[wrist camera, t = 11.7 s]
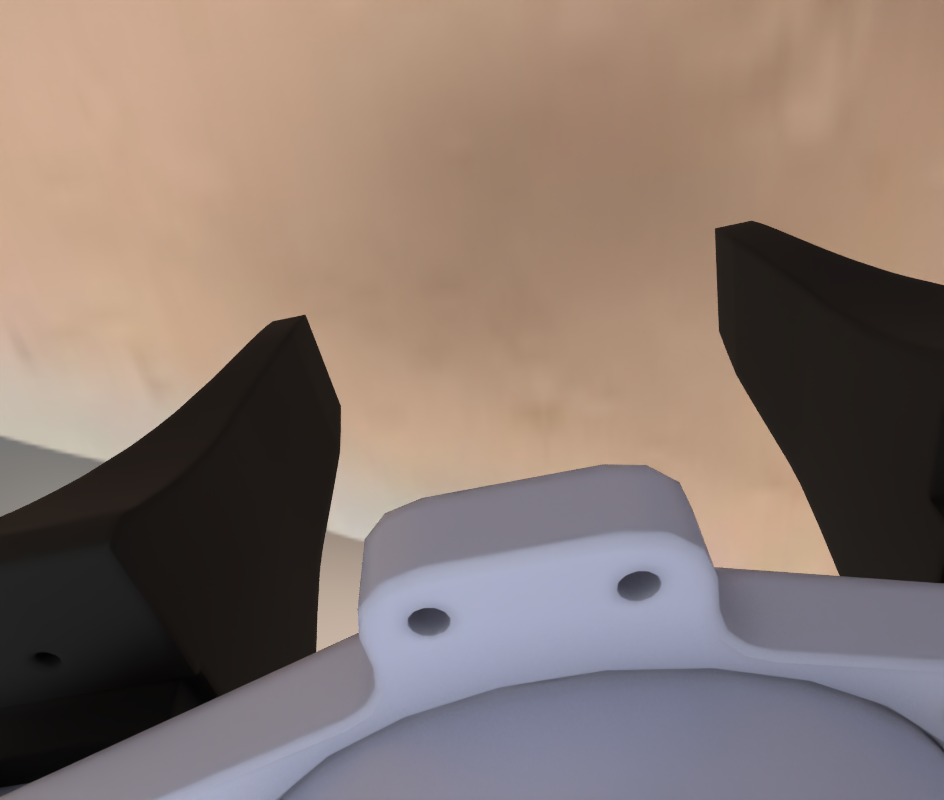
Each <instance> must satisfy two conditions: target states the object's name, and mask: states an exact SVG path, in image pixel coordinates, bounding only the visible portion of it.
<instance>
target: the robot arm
mask: <svg viewBox="0 0 944 800" xmlns="http://www.w3.org/2000/svg"><path fill="white" fill-rule="evenodd" d="M715 240H716V265H717V291H718V316H719V332H720V335H721V337H722V340H723V343H724V345H725V348H726V350H727V353H728V356H729V358H730V360H731V363H732V365H733V368H734V370H735V372H736V375H737V377H738V378H739V380H740V382H741V384H742V385H743V387H744V389H745V390H746V392H747V394H748V395H749V397H750V399H751V401H752V402H753V404H754V406H755V407H756V409H757V411H758V412H759V414H760V416H761V417H762V419H763V420H764V422H765V424H766V425H767V427H768V429H769V430H770V432H771V434H772V435H773V437H774V439H775V440H776V442H777V444H778V445H779V447H780V449H781V450H782V452H783V454H784V455H785V457H786V459H787V460H788V462H789V464H790V465H791V467H792V469H793V471H794V473H795V475H796V477H797V478H798V480H799V482H800V484H801V486H802V489H803V491H804V493H805V495H806V498H807V500H808V502H809V504H810V507H811V509H812V511H813V513H814V516H815V518H816V520H817V523H818V525H819V527H820V529H821V532H822V534H823V537H824V539H825V541H826V544H827V546H828V549H829V551H830V553H831V556H832V558H833V561H834V563H835V566H836V568H837V570H838V573H839V575H840V576H830V575H816V574H802V573H788V572H774V571H760V570H746V569H732V568H717V567H714V566H713V563H712V560H711V558H710V555H709V552H708V550H707V547H706V544H705V542H704V539H703V536H702V534H701V531H700V528H699V526H698V523H697V520H696V518H695V515H694V512H693V510H692V508H691V505H690V503H689V501H688V499H687V497H686V495H685V493H684V491H683V489H682V487H681V485H680V483H679V482H678V481H676V480H674V479H672V478H670V477H668V476H666V475H664V474H662V473H660V472H658V471H657V470H655V469H653V468H651V467H649V466H647V465H598V466H593V467H587V468H582V469H576V470H571V471H566V472H560V473H555V474H549V475H544V476H539V477H533V478H528V479H522V480H517V481H512V482H506V483H501V484H495V485H490V486H485V487H479V488H474V489H468V490H463V491H458V492H452V493H447V494H441V495H436V496H431V497H425V498H421V499H419V500H416V501H414V502H411V503H409V504H407V505H404V506H402V507H399V508H397V509H394V510H392V511H390V512H387V513H385V514H384V515H383V517H382V518H381V519H380V521H379V522H378V523H377V524H376V526H375V527H374V528H373V529H372V531H371V532H370V533H369V535H368V536H367V537H366V538H365V542H364V552H363V562H362V572H361V582H360V592H359V602H358V625H359V633H357V634H355V635H353V636H351V637H348V638H346V639H344V640H342V641H340V642H338V643H335V644H333V645H331V646H329V647H327V648H324V649H322V650H320V651H318V652H316V640H317V611H318V594H319V576H320V565H321V557H322V550H323V544H324V538H325V533H326V527H327V522H328V517H329V511H330V506H331V500H332V495H333V489H334V484H335V478H336V472H337V466H338V460H339V454H340V436H341V405H340V403H339V400H338V398H337V395H336V393H335V390H334V387H333V385H332V382H331V380H330V377H329V374H328V372H327V369H326V367H325V364H324V362H323V359H322V356H321V354H320V351H319V349H318V346H317V343H316V341H315V338H314V336H313V333H312V330H311V328H310V325H309V323H308V320H307V318H306V315H301V316H297V317H292V318H287V319H282V320H278V321H273V322H271V323H270V324H269V325H267V326H266V327H265V328H264V329H263V330H261V331H260V332H259V333H258V334H257V335H256V336H255V337H254V338H253V339H252V340H251V341H250V342H249V343H248V344H247V345H246V346H245V347H244V348H243V349H242V350H241V351H240V352H239V353H238V354H237V355H236V356H235V357H234V358H233V359H232V360H231V361H230V362H229V363H228V364H227V365H226V366H225V367H224V368H223V369H222V370H221V371H220V372H219V373H218V374H217V375H216V376H215V377H214V378H213V379H212V380H211V381H209V382H208V383H207V384H206V385H205V386H204V387H203V388H202V389H201V390H199V391H198V392H197V393H196V394H195V395H194V396H193V397H192V398H191V399H190V400H188V401H187V402H186V403H185V404H184V405H183V406H182V407H181V408H180V409H178V410H177V411H176V412H175V413H174V414H173V415H171V416H170V417H169V418H168V419H166V420H165V421H164V422H163V423H161V424H160V425H159V426H158V427H156V428H155V429H153V430H152V431H151V432H149V433H148V434H147V435H145V436H144V437H143V438H141V439H140V440H139V441H137V442H136V443H134V444H133V445H131V446H130V447H129V448H127V449H126V450H124V451H122V452H121V453H119V454H118V455H116V456H114V457H113V458H111V459H110V460H108V461H106V462H105V463H103V464H102V465H100V466H98V467H97V468H95V469H94V470H92V471H90V472H89V473H87V474H86V475H84V476H82V477H80V478H79V479H77V480H75V481H73V482H71V483H69V484H68V485H66V486H64V487H62V488H60V489H58V490H56V491H54V492H52V493H50V494H48V495H46V496H45V497H42V498H41V499H38V500H37V501H34V502H32V503H31V504H29V505H26V506H24V507H22V508H20V509H18V510H15V511H13V512H11V513H8V514H6V515H4V516H2V517H0V800H944V285H940V284H936V283H932V282H928V281H923V280H919V279H915V278H910V277H906V276H903V275H899V274H895V273H892V272H888V271H885V270H882V269H879V268H876V267H873V266H870V265H867V264H864V263H861V262H858V261H855V260H852V259H849V258H846V257H844V256H841V255H838V254H836V253H833V252H831V251H828V250H825V249H823V248H820V247H818V246H815V245H813V244H811V243H808V242H806V241H803V240H801V239H799V238H796V237H794V236H791V235H789V234H787V233H784V232H782V231H779V230H777V229H774V228H772V227H769V226H767V225H764V224H761V223H758V222H754V221H748V222H744V223H739V224H734V225H729V226H725V227H720V228H715Z"/></svg>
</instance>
